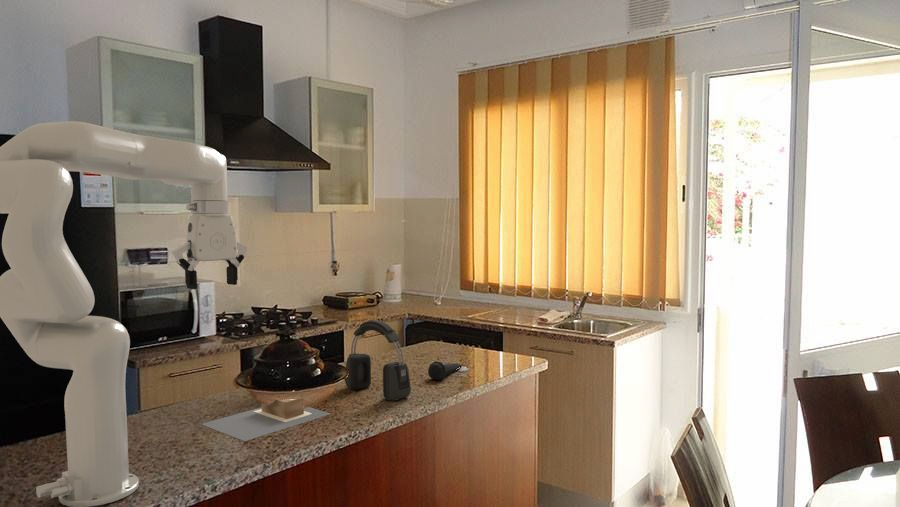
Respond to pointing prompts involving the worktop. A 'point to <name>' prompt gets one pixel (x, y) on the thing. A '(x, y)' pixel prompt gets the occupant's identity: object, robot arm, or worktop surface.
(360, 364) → the headphones
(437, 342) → the worktop surface
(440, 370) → the microphone
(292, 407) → the block
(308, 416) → the mat
